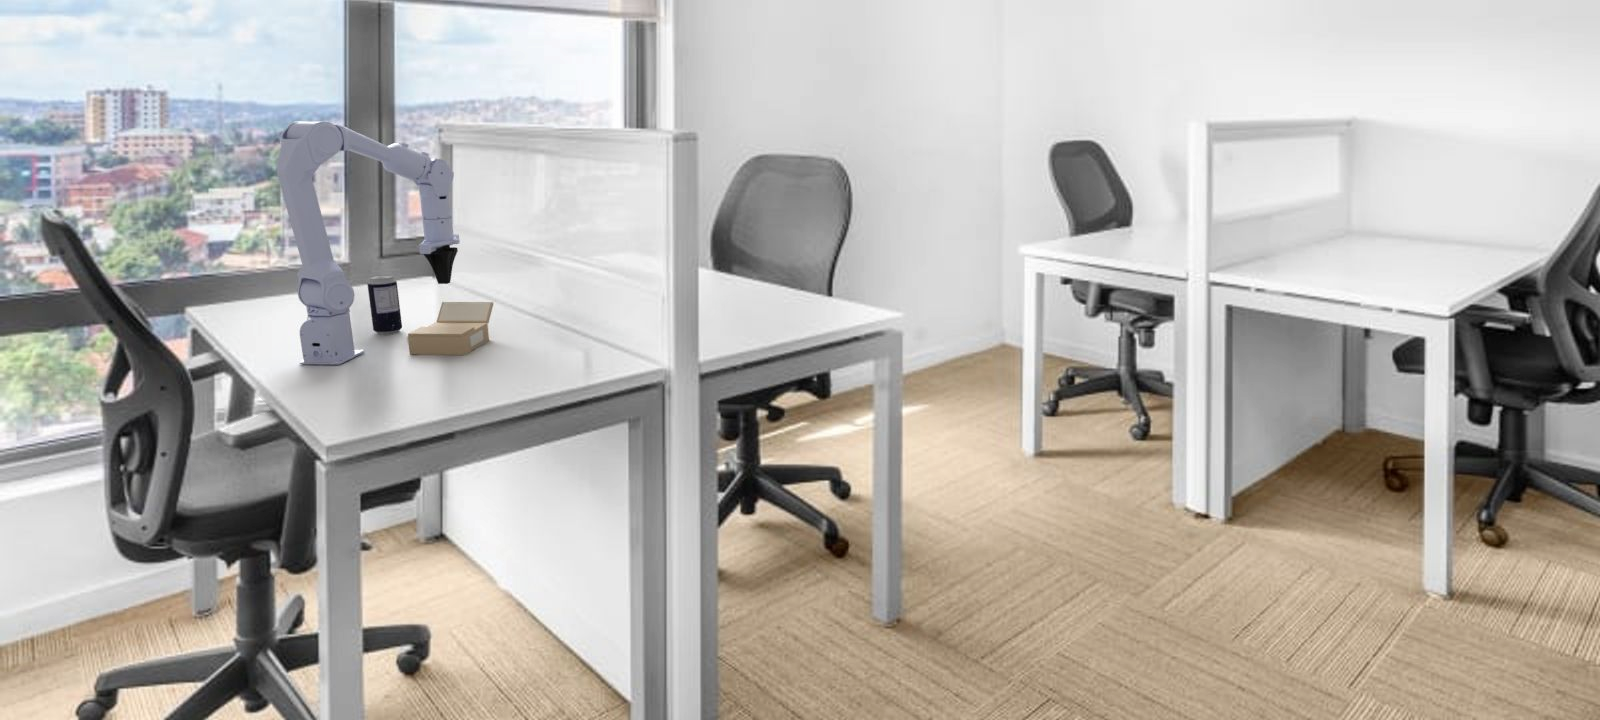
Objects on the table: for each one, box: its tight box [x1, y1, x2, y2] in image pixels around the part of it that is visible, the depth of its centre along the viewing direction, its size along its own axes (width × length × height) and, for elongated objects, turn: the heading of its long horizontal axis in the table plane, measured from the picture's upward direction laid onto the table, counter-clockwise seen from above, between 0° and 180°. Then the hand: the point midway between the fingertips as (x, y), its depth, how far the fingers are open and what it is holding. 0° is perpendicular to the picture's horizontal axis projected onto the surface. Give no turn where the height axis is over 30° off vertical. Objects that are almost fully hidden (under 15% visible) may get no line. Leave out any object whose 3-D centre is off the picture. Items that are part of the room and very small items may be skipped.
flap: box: [436, 301, 494, 324], centre depth 207 cm, size 5×11×1 cm
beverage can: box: [367, 274, 403, 336], centre depth 212 cm, size 6×6×12 cm
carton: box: [407, 322, 490, 356], centre depth 200 cm, size 12×11×4 cm
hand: (444, 283), depth 211 cm, fingers closed
